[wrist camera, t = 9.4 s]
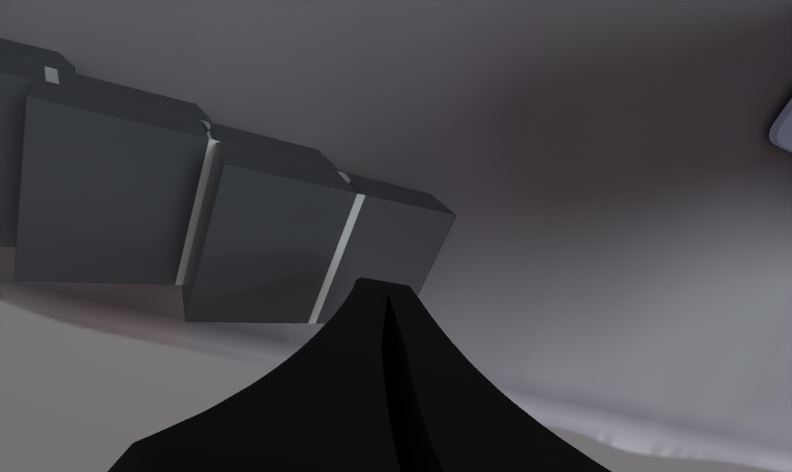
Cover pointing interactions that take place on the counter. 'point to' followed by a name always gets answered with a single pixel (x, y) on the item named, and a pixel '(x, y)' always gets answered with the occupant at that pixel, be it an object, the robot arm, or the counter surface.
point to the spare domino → (301, 239)
